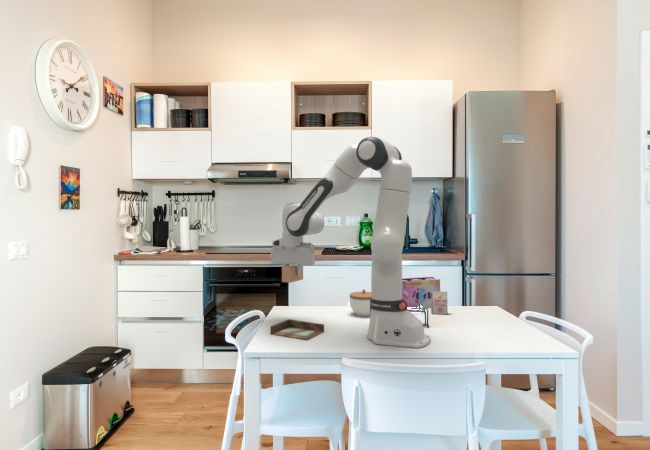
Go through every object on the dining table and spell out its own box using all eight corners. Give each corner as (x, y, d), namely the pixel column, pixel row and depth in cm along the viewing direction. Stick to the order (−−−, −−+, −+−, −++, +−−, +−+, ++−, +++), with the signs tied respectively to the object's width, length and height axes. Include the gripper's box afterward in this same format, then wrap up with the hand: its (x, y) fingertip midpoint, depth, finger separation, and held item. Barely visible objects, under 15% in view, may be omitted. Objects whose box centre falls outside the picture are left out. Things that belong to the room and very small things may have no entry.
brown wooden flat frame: (324, 332, 155) (324, 324, 155) (307, 340, 144) (307, 332, 144) (288, 326, 162) (288, 319, 162) (270, 334, 152) (270, 326, 152)
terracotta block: (303, 279, 175) (303, 265, 175) (290, 282, 166) (290, 267, 166) (295, 278, 177) (295, 264, 177) (281, 281, 168) (281, 267, 168)
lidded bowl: (349, 311, 189) (349, 287, 189) (376, 311, 189) (376, 287, 188) (349, 317, 177) (350, 292, 176) (379, 318, 176) (379, 292, 176)
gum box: (434, 303, 206) (434, 276, 205) (443, 307, 198) (443, 279, 198) (390, 306, 199) (391, 278, 199) (398, 310, 191) (398, 281, 191)
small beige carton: (431, 312, 187) (431, 290, 187) (446, 313, 185) (446, 291, 185) (431, 314, 183) (431, 292, 183) (447, 315, 182) (447, 292, 182)
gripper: (318, 242, 169) (318, 275, 170) (277, 240, 179) (277, 272, 179) (310, 243, 164) (310, 277, 164) (268, 241, 174) (268, 274, 174)
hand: (292, 275), depth 172 cm, fingers closed on terracotta block, 4 cm apart
